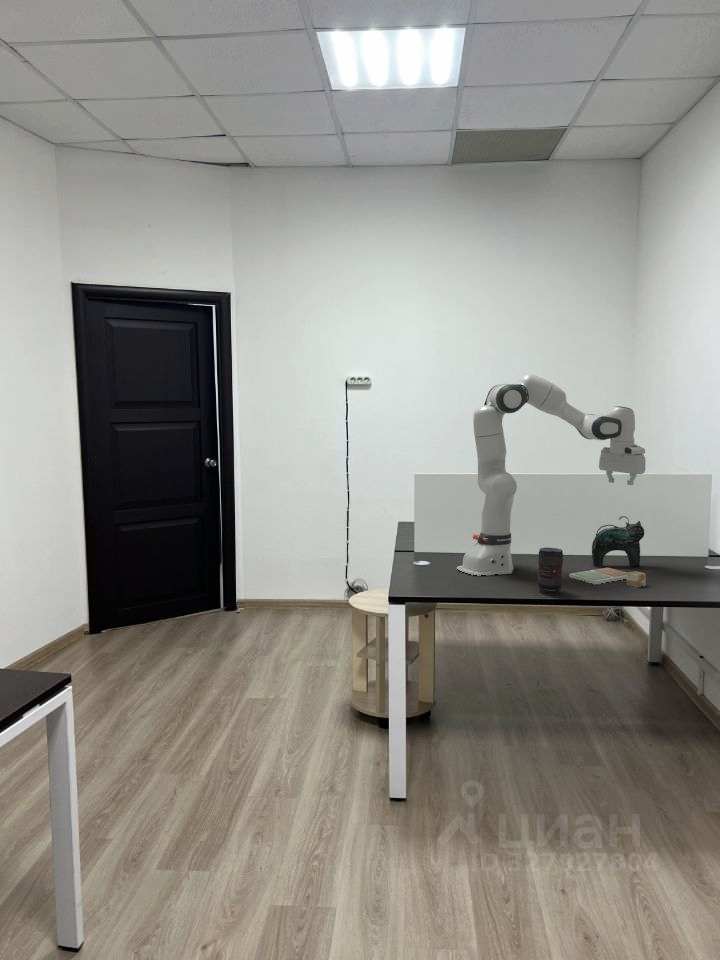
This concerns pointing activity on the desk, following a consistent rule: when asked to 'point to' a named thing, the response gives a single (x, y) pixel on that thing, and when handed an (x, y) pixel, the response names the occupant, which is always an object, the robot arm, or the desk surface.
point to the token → (636, 579)
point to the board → (600, 575)
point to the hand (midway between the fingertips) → (620, 483)
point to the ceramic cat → (618, 542)
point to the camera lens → (550, 570)
